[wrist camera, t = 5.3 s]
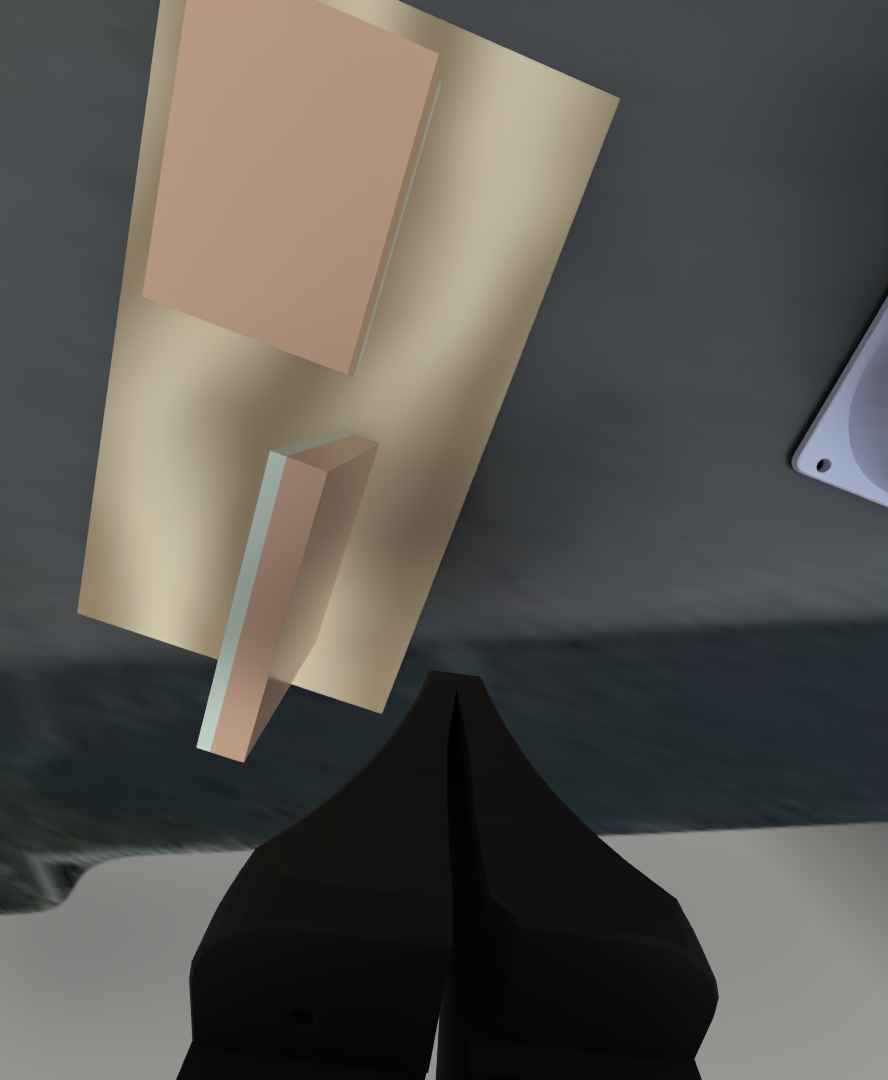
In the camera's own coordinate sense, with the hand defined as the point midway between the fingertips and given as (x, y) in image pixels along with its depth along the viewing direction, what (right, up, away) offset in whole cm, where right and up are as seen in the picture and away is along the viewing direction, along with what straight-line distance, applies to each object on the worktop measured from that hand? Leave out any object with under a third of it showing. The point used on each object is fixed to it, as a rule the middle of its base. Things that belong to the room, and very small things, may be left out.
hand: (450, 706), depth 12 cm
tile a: (-2, +14, +3) cm, 14 cm away
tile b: (-5, +4, +7) cm, 9 cm away
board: (-5, +10, +6) cm, 13 cm away
